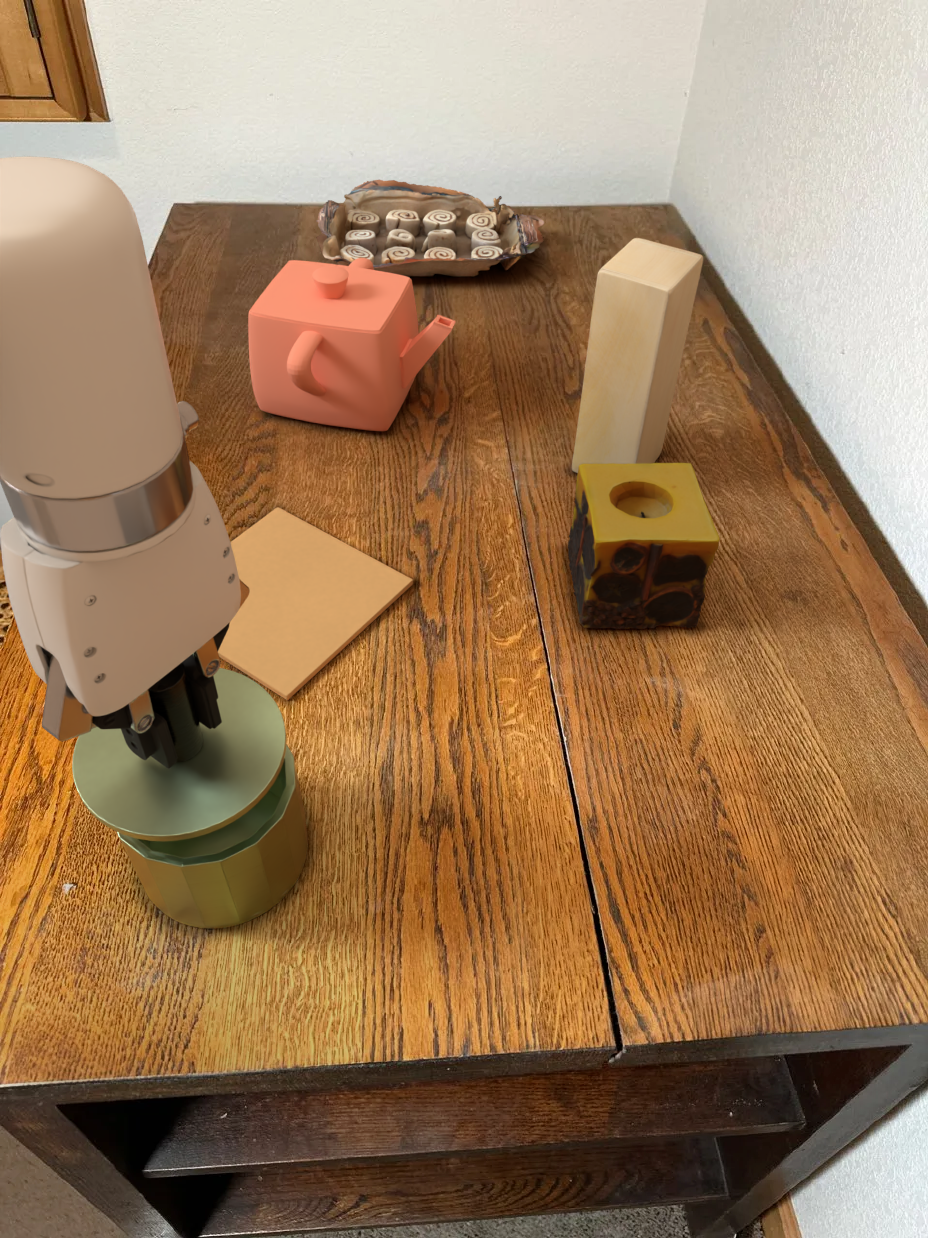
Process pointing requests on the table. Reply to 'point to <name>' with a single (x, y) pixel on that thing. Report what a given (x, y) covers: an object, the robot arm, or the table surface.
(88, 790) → the lid
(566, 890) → the table surface
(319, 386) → the teapot
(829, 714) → the table surface
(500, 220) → the baking tray
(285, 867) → the pot
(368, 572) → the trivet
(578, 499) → the candle
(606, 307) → the tall beige wooden block
